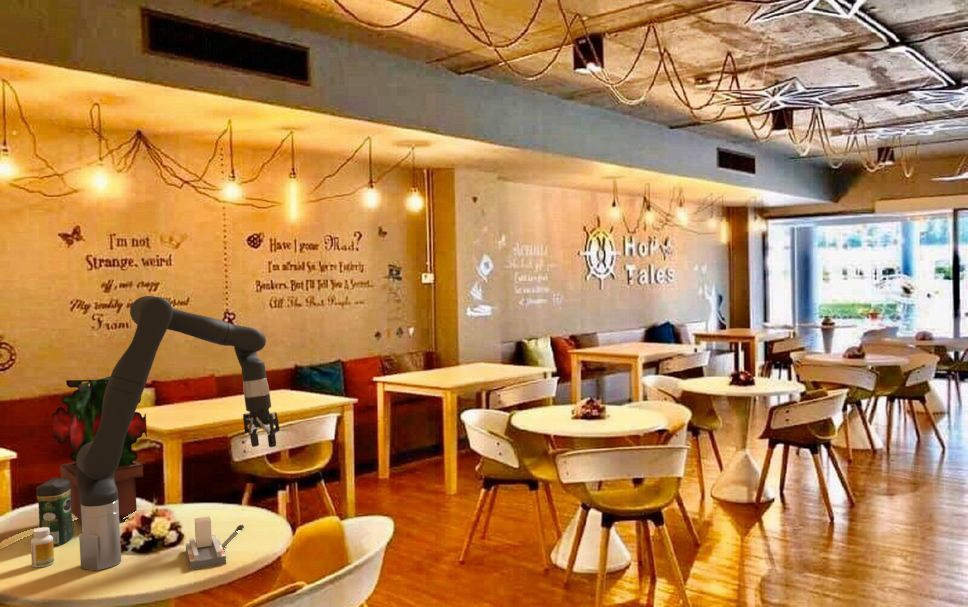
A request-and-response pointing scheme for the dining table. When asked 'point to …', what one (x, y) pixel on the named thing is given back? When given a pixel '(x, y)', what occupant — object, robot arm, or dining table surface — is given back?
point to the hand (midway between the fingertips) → (264, 446)
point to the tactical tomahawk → (232, 536)
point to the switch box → (205, 554)
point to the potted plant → (83, 429)
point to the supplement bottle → (42, 548)
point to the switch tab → (203, 532)
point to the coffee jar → (56, 509)
